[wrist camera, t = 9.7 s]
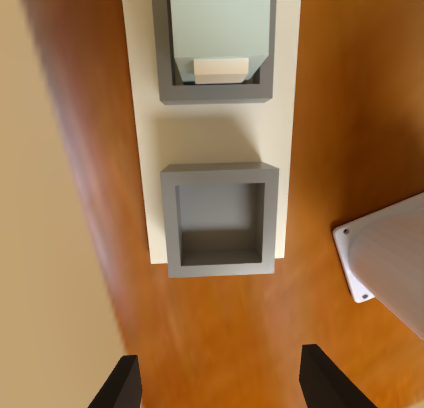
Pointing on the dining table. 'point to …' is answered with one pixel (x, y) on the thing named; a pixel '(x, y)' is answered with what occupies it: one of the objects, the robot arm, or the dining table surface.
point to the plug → (220, 39)
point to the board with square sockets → (213, 149)
